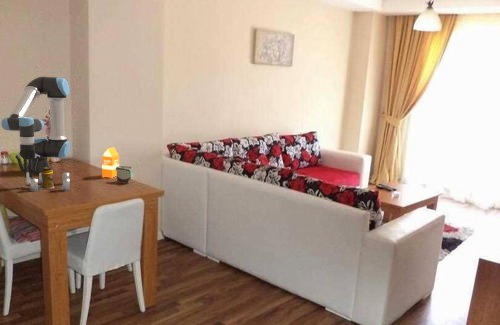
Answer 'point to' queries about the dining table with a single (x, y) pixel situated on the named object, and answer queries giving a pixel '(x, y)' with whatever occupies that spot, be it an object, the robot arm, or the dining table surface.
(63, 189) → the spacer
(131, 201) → the dining table surface
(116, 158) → the orange juice
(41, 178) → the cylinder
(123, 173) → the retro television
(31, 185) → the cylinder
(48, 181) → the condiment
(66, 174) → the cylinder
